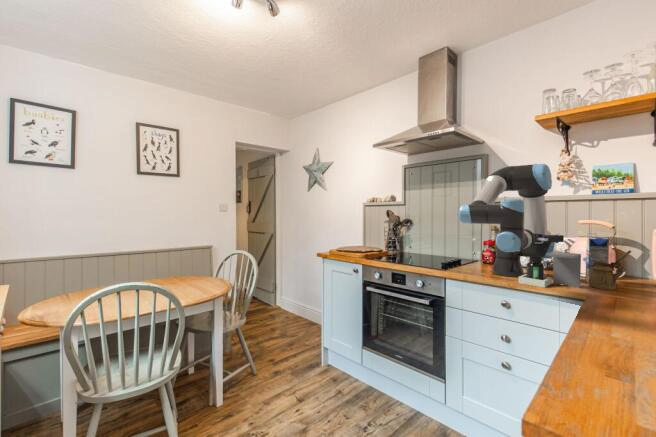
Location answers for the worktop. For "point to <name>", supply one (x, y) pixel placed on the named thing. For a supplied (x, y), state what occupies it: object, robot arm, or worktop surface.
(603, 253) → the beverage box
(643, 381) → the worktop surface
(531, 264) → the supplement bottle
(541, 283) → the tray
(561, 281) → the bay
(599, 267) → the wooden mug
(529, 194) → the robot arm
